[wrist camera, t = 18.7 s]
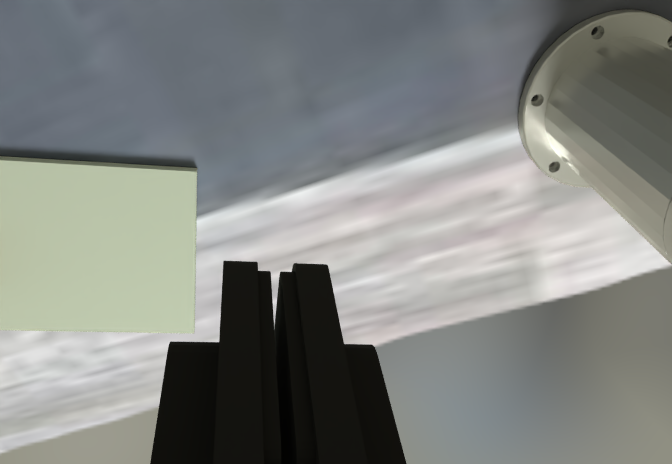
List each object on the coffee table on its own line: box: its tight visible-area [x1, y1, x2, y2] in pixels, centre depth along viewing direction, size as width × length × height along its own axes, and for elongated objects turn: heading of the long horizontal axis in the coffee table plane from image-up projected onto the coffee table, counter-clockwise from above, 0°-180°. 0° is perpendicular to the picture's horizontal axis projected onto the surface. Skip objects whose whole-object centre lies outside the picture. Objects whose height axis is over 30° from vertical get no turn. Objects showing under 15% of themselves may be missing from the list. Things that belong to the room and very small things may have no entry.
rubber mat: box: [0, 156, 197, 333], centre depth 45 cm, size 23×14×1 cm, turn 83°
